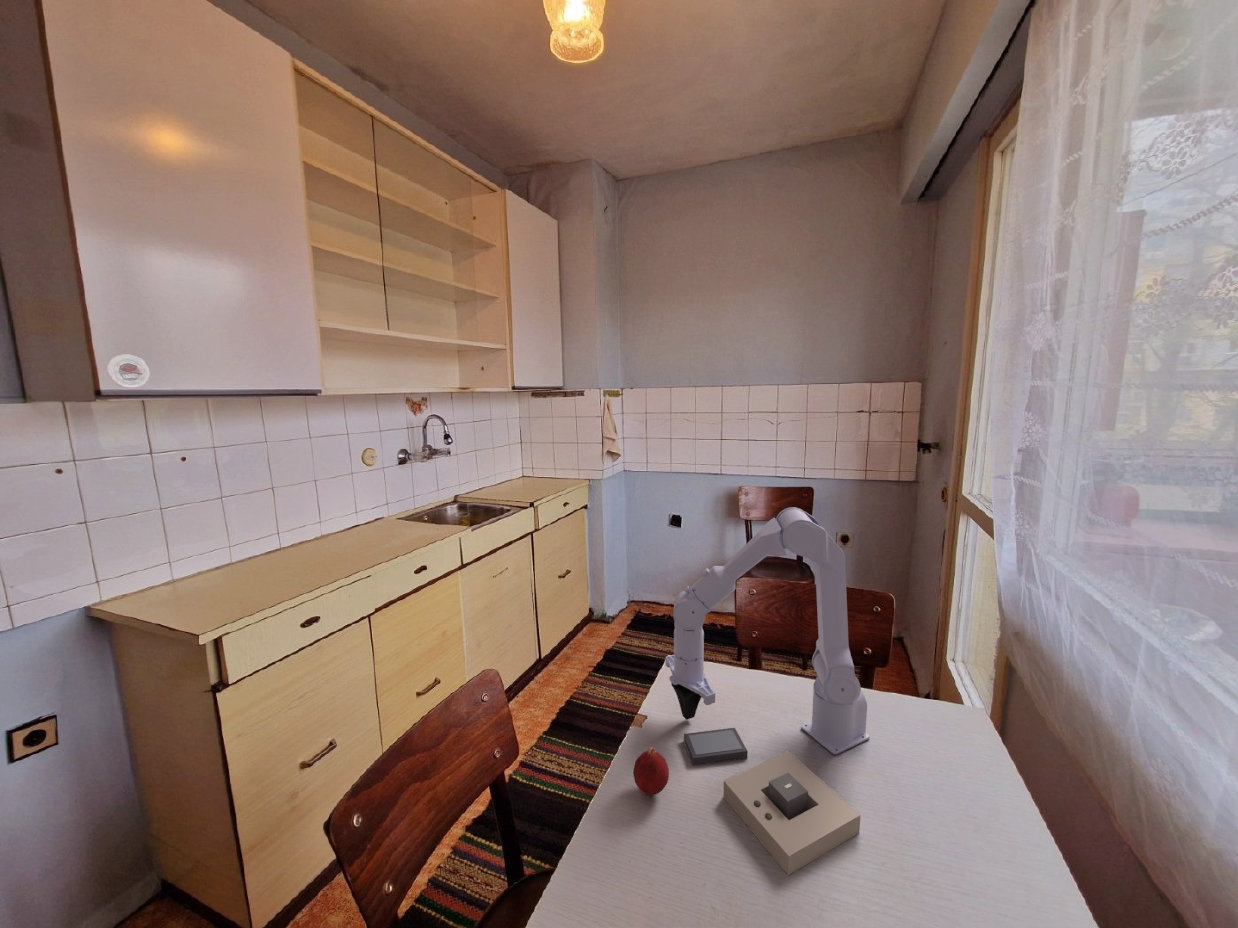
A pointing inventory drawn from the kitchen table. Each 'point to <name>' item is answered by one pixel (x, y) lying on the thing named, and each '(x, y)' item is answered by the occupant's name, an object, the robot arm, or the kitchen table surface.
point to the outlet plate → (804, 833)
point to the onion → (651, 772)
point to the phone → (714, 746)
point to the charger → (788, 796)
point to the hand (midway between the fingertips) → (688, 716)
